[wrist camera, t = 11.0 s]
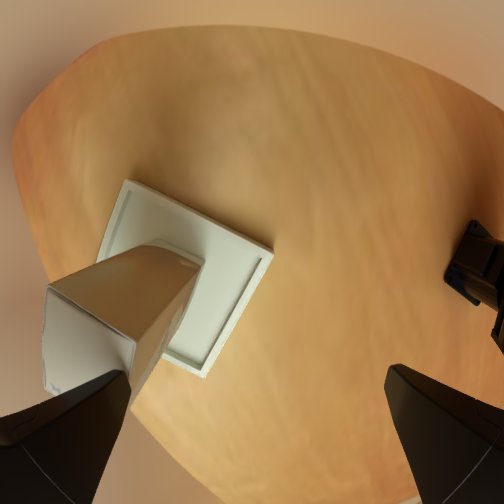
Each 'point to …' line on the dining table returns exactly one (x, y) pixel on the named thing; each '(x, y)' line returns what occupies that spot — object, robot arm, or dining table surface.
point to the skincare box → (116, 315)
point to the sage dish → (212, 277)
